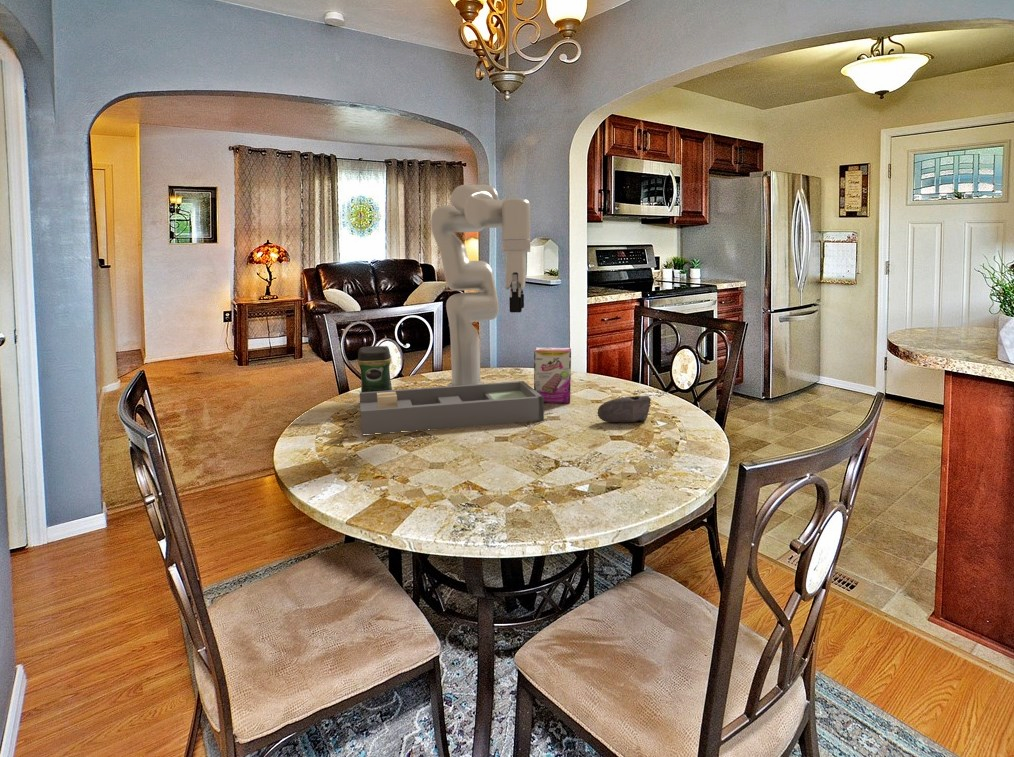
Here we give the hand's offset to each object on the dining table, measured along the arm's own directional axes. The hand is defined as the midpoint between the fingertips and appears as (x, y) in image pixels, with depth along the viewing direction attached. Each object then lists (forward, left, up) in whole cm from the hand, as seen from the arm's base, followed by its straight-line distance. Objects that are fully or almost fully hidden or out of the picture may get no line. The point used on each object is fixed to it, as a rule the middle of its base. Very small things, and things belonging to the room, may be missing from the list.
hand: (517, 310), depth 171 cm
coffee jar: (-19, -39, -30) cm, 52 cm away
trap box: (-2, -20, -30) cm, 35 cm away
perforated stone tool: (+16, +25, -30) cm, 42 cm away
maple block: (+3, -37, -26) cm, 45 cm away
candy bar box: (-10, +13, -30) cm, 34 cm away
